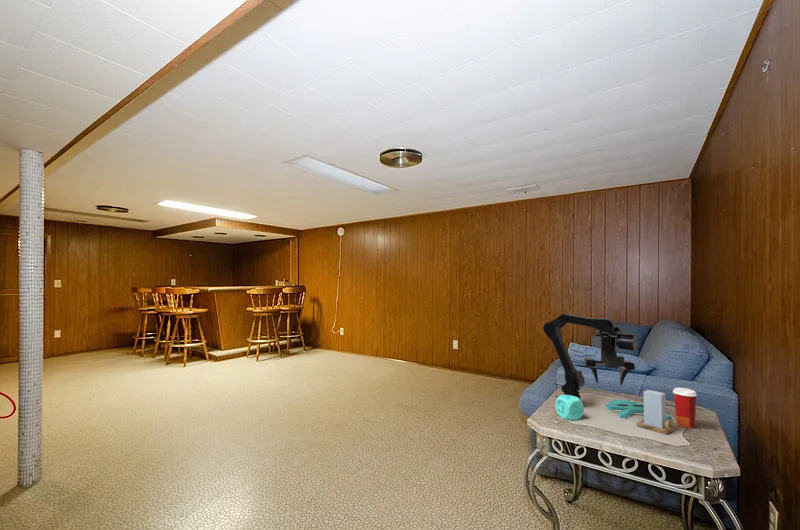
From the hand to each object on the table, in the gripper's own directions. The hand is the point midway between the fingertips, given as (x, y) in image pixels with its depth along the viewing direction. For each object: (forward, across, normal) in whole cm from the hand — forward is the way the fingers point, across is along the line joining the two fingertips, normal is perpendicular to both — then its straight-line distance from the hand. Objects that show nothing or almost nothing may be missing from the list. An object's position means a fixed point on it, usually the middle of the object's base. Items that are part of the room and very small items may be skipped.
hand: (608, 383), depth 156 cm
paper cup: (+13, +26, -4) cm, 29 cm away
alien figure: (+14, +11, +8) cm, 19 cm away
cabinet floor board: (+13, +14, -11) cm, 22 cm away
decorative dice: (+13, -17, -9) cm, 23 cm away
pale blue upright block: (+12, +13, -11) cm, 21 cm away
